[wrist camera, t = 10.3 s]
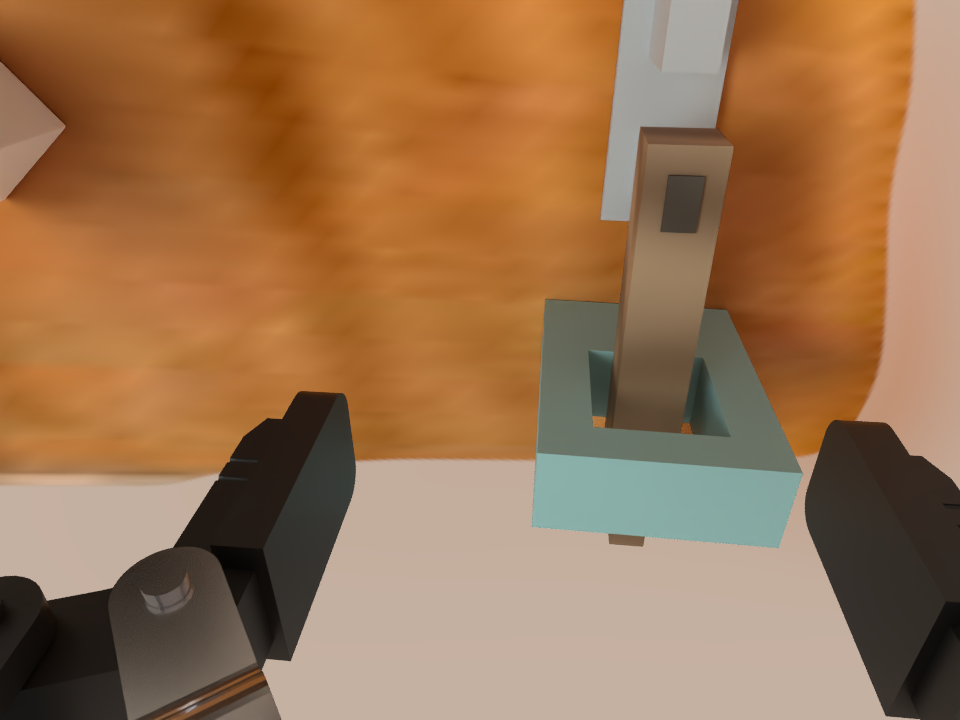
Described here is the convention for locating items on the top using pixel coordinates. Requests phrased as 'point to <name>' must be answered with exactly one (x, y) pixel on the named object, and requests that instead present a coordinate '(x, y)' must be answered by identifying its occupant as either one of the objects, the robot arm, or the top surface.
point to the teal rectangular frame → (658, 442)
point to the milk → (22, 130)
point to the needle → (665, 277)
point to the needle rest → (663, 81)
